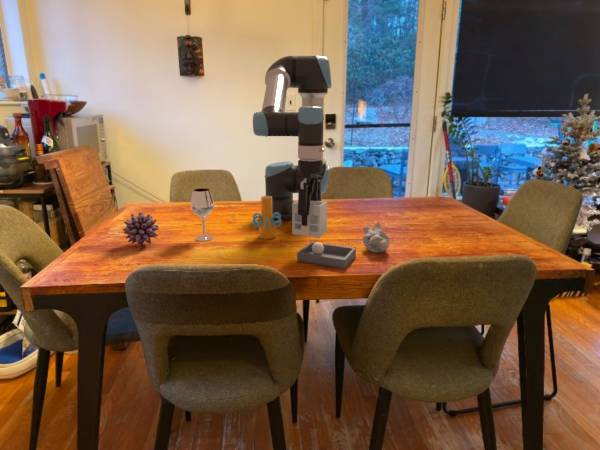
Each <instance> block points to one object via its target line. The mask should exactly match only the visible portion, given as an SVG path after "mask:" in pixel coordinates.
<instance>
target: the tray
mask: <svg viewBox="0 0 600 450" xmlns="http://www.w3.org/2000/svg"><path fill="white" fill-rule="evenodd" d="M314 243H317V241H316V242H315V241H310V242H309V243H308V244H307V245H305V246H303V247H302V248H301V249H300V250H299V251H297V253H296V262H298V263H302V264H308V265H315V266H322V267H327V268H328V267H329V268H333V269H334V268H335V269H341V270H346V269H347V267H348V266H349V265H350V264H351V263H352V262H353V261H354V259H355V258H357V256H356V255H357V248H356V247H350V246H343V245H335V244H330V243H329V244H328V243H322V244H323V246H324V251H323V253H322V254H320V255H316V254H314V253H313V252H312V246H313V244H314Z"/></svg>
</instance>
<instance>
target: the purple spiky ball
mask: <svg viewBox="0 0 600 450" xmlns="http://www.w3.org/2000/svg"><path fill="white" fill-rule="evenodd" d="M144 214H145V213H144V212H143V211H142V212H141V211H138V214H137V215H135V214H134V213H131V214H130V216H131V217H130V219H126V220H124V221H123V223H124V224H125V227H123V228H122V231H123V234H127V236H126V237H125V240H126V239H128V243H131V244H132V245H134V244H135V243H137V244H138V247H141V246H144V243H145V242H146V243H148V244H149V245H151V244H152V242H151V241H152V239H151V238H155V239H156V238H157V237H158V236H159V234H157V233H156V232H155V231H157V230H159V229H160V228H159V225H158V224H156V222H157V221H158V220H157V219H153V216H151V213H148V214H147V215H144Z"/></svg>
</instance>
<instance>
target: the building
mask: <svg viewBox="0 0 600 450" xmlns="http://www.w3.org/2000/svg"><path fill="white" fill-rule="evenodd" d="M309 215H310V236H309V237H310V238H319V239H320V238H321V237H323V236H324V235H325V234H327V232H328V231H327V230H328V228H327V227H328V201H325V200H324V201H323V200H321V201H313V200H311V201H310V208H309ZM291 223H292V225H291V226H292V227H291V229H292V230H291V231H292V232H291V233H292V235H295V236H304V237H307V236H306V235H301V215H298V200H296V201H294V203H292V222H291Z"/></svg>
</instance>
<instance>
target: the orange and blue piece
mask: <svg viewBox="0 0 600 450" xmlns="http://www.w3.org/2000/svg"><path fill="white" fill-rule="evenodd" d="M260 205H261V207H260V208H261V209H260V211H261V213H260V212H255V213H254V214H253V215H252V222H251V223H252V226H253V227H255V228H258V233H259V235H258V236H259V238H260V239H262V240H271V239H274V238H275V237H276V228H279V227H281V225H282V221H281V215H280V214H279V213H278V212H275V213H273V214H272V196H266V195H262V196H261V197H260ZM276 214H277V215H278V216H274V215H276ZM274 218H278V220H277V221H274V220H273V219H274ZM257 219H260V221H257Z"/></svg>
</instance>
